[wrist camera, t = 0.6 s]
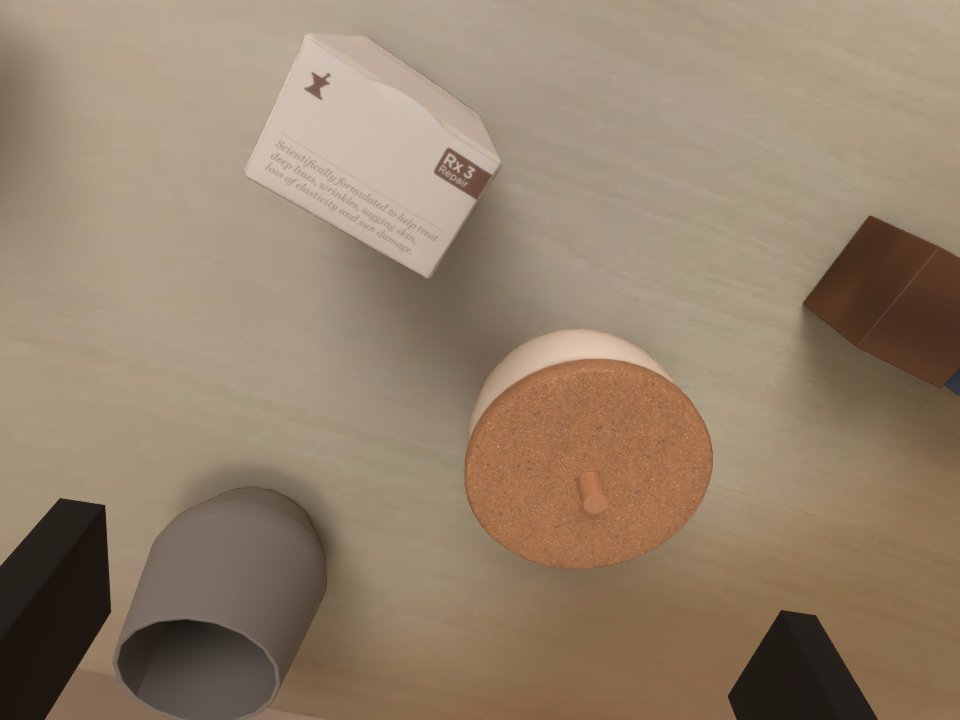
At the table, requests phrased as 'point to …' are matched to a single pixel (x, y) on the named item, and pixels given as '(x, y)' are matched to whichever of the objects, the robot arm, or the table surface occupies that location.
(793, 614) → the robot arm
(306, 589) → the cup
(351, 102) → the cosmetic box
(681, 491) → the trinket box
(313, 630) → the table surface
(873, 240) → the walnut block
